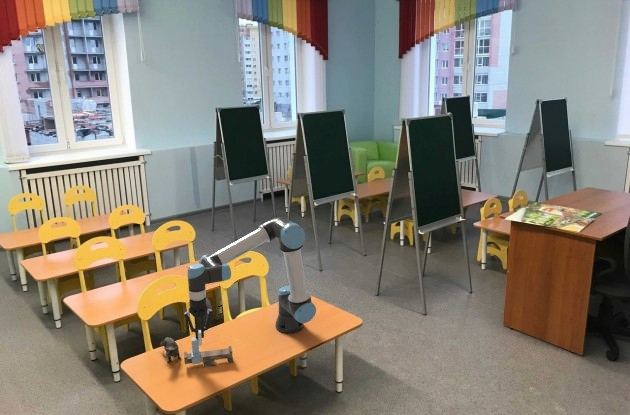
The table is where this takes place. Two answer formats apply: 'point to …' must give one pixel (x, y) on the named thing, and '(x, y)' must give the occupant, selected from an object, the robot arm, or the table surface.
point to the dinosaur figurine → (170, 349)
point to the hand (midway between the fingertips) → (200, 344)
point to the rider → (195, 351)
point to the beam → (211, 356)
